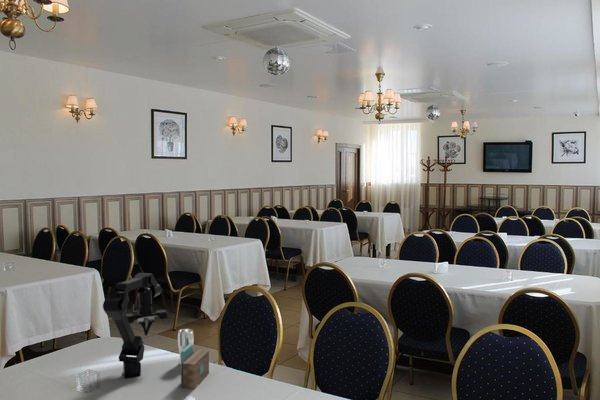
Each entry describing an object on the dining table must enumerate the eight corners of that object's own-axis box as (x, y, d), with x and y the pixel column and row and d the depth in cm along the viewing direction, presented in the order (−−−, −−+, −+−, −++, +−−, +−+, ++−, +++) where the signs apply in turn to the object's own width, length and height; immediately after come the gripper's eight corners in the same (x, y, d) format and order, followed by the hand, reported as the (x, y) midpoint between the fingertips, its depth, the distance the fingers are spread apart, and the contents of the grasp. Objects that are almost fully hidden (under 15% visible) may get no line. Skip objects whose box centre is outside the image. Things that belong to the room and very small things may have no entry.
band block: (181, 387, 208) (181, 363, 208) (196, 372, 224) (196, 349, 223) (194, 388, 207) (194, 364, 207) (209, 373, 223) (208, 350, 222)
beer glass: (190, 367, 230) (189, 333, 229) (175, 365, 231) (175, 332, 230) (196, 361, 236) (196, 329, 236) (182, 360, 238) (181, 328, 237)
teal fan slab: (181, 382, 212) (180, 351, 211) (189, 373, 221) (189, 343, 220) (197, 383, 211) (197, 352, 210) (205, 375, 219) (205, 345, 219)
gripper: (162, 294, 243) (162, 327, 244) (120, 299, 235) (121, 333, 236) (167, 300, 233) (168, 334, 234) (124, 305, 225) (125, 340, 226)
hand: (145, 335), depth 233 cm, fingers closed
